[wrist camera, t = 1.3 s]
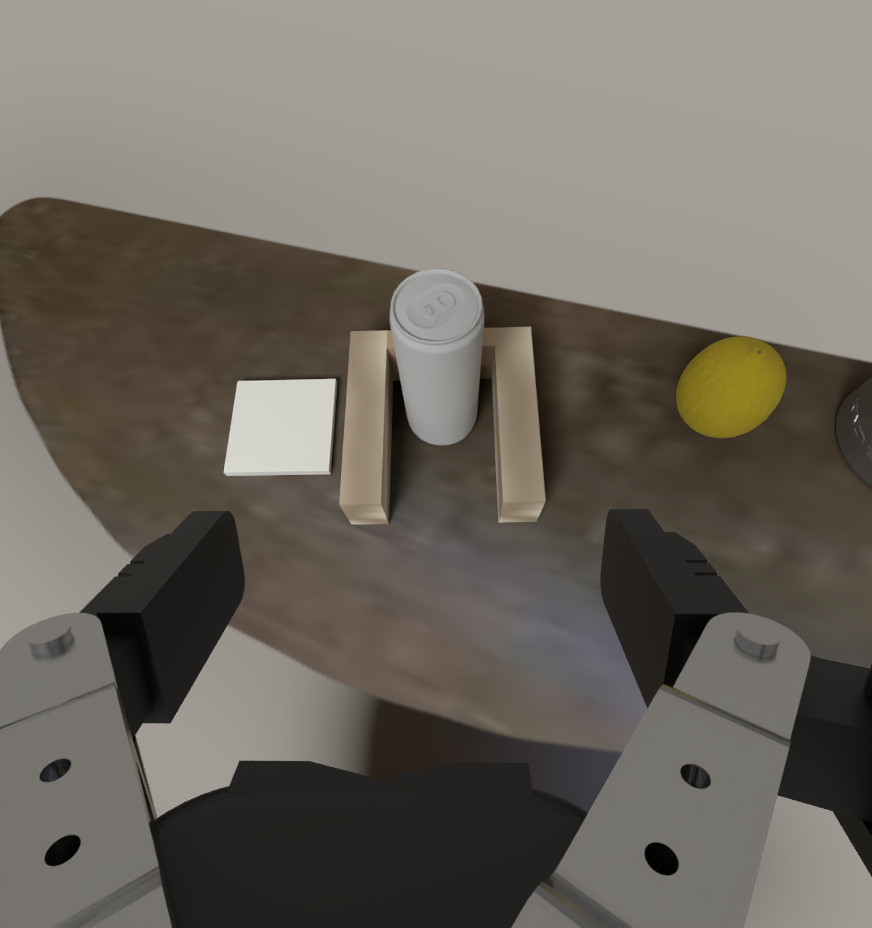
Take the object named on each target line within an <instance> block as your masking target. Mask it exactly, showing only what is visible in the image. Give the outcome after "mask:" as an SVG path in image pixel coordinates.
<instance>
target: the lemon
mask: <svg viewBox="0 0 872 928" xmlns="http://www.w3.org/2000/svg"><path fill="white" fill-rule="evenodd" d="M785 386H786V369H785V366H784V362H783V361H782V359H781V357H780V355H779V354H778V353H777V352H776V351H775V349H774V348H773V347H771V346H770V345H768V344H767V343H765V342H763V341H761V340H759V339H755V338H751V337H743V336H736V337H731V338H725V339H722V340H720V341H718V342H715V343H713V344H711V345H709V346H708V347H706V348H705V349H704V350H703V351H701V352H700V353H699V354H698V355H697V356H695V357H694V358H693V359H692V360H691V361H690V363H689V364H688V365H687V367H686V368H685V370H684V371H683V373H682V375H681V377H680V379H679V382H678V386H677V390H676V405H677V408H678V411H679V414H680V415H681V417H682V419H683V420H684V422H685V423H686V424H687V425H688V426H689V427H690V428H692V429H693V430H695V431H696V432H698V433H700V434H703V435H705V436H708V437H715V438H730V437H735V436H738V435H741V434H744V433H747V432H749V431H750V430H752V429H754V428H755V427H757V426H758V425H760V424H761V423H762V422H764V421H765V420H766V419H767V418H768V417H769V415H770V414H771V413H772V412H773V410H774V409H775V408H776V406H777V405H778V403H779V401H780V399H781V397H782V394H783V392H784V389H785Z"/></svg>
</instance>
